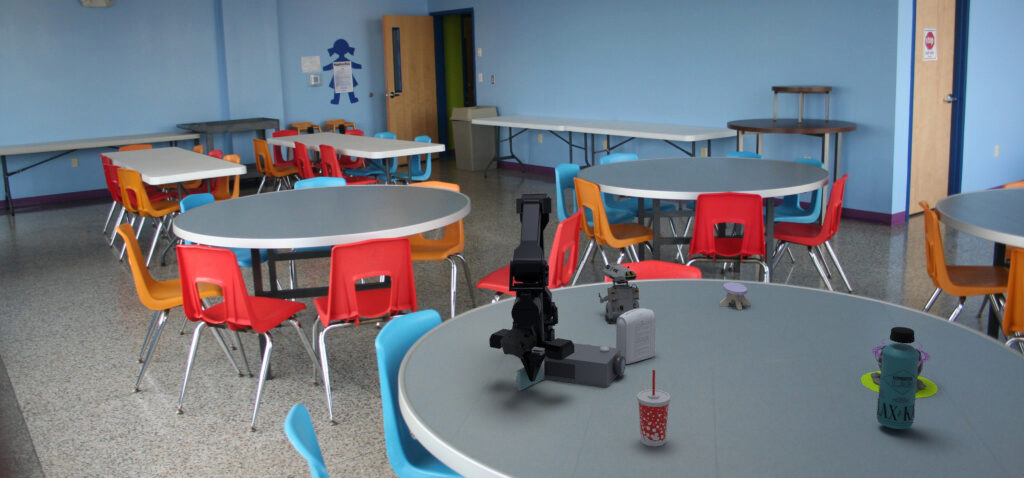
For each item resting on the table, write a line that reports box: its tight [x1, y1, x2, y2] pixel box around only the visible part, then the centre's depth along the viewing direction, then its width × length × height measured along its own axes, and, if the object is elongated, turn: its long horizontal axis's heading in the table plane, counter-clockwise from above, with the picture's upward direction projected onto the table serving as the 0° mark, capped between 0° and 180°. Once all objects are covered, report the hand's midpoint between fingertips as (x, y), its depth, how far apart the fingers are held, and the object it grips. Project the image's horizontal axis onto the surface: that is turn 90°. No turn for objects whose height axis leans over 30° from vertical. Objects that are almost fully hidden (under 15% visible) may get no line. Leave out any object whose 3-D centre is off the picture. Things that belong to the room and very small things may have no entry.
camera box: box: [544, 342, 627, 388], centre depth 183 cm, size 18×10×6 cm, turn 65°
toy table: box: [718, 281, 752, 311], centre depth 231 cm, size 10×9×6 cm
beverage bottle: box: [876, 326, 919, 430], centre depth 150 cm, size 6×7×20 cm
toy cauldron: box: [860, 338, 939, 399], centre depth 172 cm, size 15×15×11 cm
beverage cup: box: [636, 369, 671, 447], centre depth 149 cm, size 6×6×14 cm
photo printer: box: [615, 307, 656, 365], centre depth 191 cm, size 10×4×12 cm, turn 123°
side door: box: [515, 360, 545, 391], centre depth 178 cm, size 9×2×5 cm, turn 140°
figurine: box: [598, 262, 640, 324], centre depth 222 cm, size 9×12×15 cm
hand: (532, 381), depth 175 cm, fingers closed
